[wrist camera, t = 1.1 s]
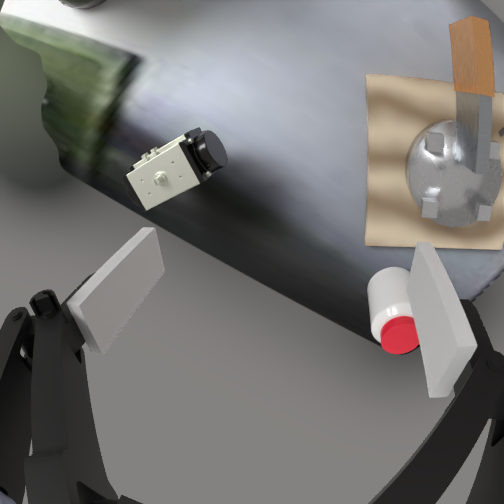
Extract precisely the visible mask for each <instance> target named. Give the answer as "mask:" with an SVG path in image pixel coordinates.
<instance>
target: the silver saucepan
mask: <svg viewBox="0 0 504 504" xmlns="http://www.w3.org/2000/svg"><path fill="white" fill-rule="evenodd" d="M449 32H450V40H451V50H452V62H453V79H454V91H456V119H444V120H439V121H436V122H434V123H431V124H430V125H428V126H426V127H425V128H424V129H423V130H422V131H420V133H419V134H418V135H417V136H416V137H415V139H414V140H413V142H412V144H411V146H410V148H409V151H408V153H407V158H406V164H405V176H406V182H407V186H408V189H409V191H410V193H411V195H412V197H413V199H414V200H415V202H416V203H417V205H418V206H419V208H420V210H419V214H420V215H421V217H426V218H430V219H431V220H432V221H434V222H436V223H438V224H440V225H444V226H449V227H460V226H465V225H468V224H471V223H473V222H475V221H477V220H479V221H490V217H491V211H492V205H493V204H494V202H495V200H496V198H497V196H498V193H499V190H500V187H501V182H502V165H501V160H500V156H499V155H500V143H499V142H497V141H492V140H491V130H492V97H495V89H494V67H493V54H492V44H491V35H490V28H489V21H488V20H484V19H481V18H477V17H474V16H470V17H467V18H465V19H462V20H460V21H457V22H455V23H452V24H450V25H449Z"/></svg>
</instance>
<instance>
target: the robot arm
mask: <svg viewBox="0 0 504 504" xmlns="http://www.w3.org/2000/svg"><path fill="white" fill-rule="evenodd" d="M59 1H60V2H61V3H62V4H64V5H65V6H68V7H72V8H80V9H86V8H91V7H94V6H97V5H99V4H101V3H102V2H104V1H106V0H59ZM164 272H165V269H164V265H163V261H162V257H161V252H160V248H159V243H158V239H157V234H156V229H155V228H147V227H144V228H142V229H141V230H140V231H139V232H138V233H137V234H136V235H135V236H134V237H132V238H131V239H130V240H129V241H128V242H127V243H126V244H125V245H124V246H123V247H122V248H121V249H120V250H119V251H117V252H116V253H115V254H114V255H113V256H112V257H111V258H110V259H109V260H108V261H107V262H106V263H105V264H104V265H103V266H102V267H101V268H100V269H99V270H98V271H97V272H95V273H93V274H92V275H90V276H88V277H87V278H86V279H85V280H84V281H83V282H82V284H81V285H79V286H78V287H77V290H76V289H75V290H74V291H73V292H72V293H71V295H70V296H69V297H68V298H67V299H66V300H65V301H64V302H63V303H62V304H61V305H60V304H59V302H58V299H57V297H56V295H55V293H54V291H52V290H48V289H47V290H43V291H41V292H39V293H37V294H36V295H34V296H33V297H32V298H31V300H30V302H29V303H30V305H31V307H32V309H33V311H34V313H35V316H30V314H29V313H28V310H27V309H26V308H25V307H19V308H16V309H14V310H12V311H11V312H10V313H9V314H8V316H7V317H6V319H5V321H4V323H3V325H2V328H1V329H0V504H22V502H23V497H24V493H25V485H26V490H27V497H28V504H142V503H139V502H137V501H135V500H132V499H130V498H128V497H126V496H123V495H121V497H120V499H118V496H117V494H116V492H115V491H114V489H113V488H112V486H111V485H110V483H109V481H108V479H107V476H106V472H105V468H104V465H103V461H102V456H101V452H100V448H99V443H98V439H97V435H96V429H95V424H94V419H93V413H92V408H91V402H90V395H89V389H88V381H87V373H86V364H85V355H84V351H83V348H82V345H83V344H84V343H85V342H86V344H87V346H88V347H89V349H90V351H93V352H95V353H99V354H102V355H103V354H104V353H105V351H106V350H107V348H108V347H109V346H110V344H111V343H112V342H113V340H114V339H115V338H116V336H117V335H118V333H119V332H120V330H121V329H122V328H123V326H124V325H125V324H126V322H127V321H128V320H129V318H130V317H131V316H132V314H133V313H134V311H135V310H136V309H137V307H138V306H139V305H140V304H141V302H142V301H143V300H144V298H145V297H146V295H147V294H148V293H149V292H150V290H151V289H152V288H153V286H154V285H155V284H156V282H157V281H158V280H159V278H160V277H161V276H162V275H163V273H164ZM406 291H407V294H408V298H409V302H410V306H411V309H412V313H413V317H414V321H415V326H416V330H417V334H418V339H419V343H420V348H421V353H422V358H423V362H424V367H425V373H426V379H427V385H428V391H429V397H431V398H432V397H447V396H448V395H449V393H450V392H451V390H452V389H453V387H454V392H455V397H454V399H453V400H452V402H451V403H450V404H449V406H448V407H447V409H446V410H445V412H444V414H443V415H442V417H441V418H440V420H439V421H438V422H437V424H436V425H435V427H434V428H433V430H432V431H431V432H430V434H429V435H428V436H427V438H426V439H425V440H424V441H423V443H422V444H421V445H420V447H419V448H418V449H417V450H416V452H415V453H414V454H413V455H412V456H411V458H410V459H409V460H408V461H407V463H406V464H405V465H404V466H403V467H402V468H401V469H400V471H399V472H398V473H397V474H396V475H395V476H394V477H393V478H392V480H391V481H390V482H389V483H388V484H387V485H386V486H385V487H384V488H383V489H382V490H381V491H380V492H379V493H378V494H377V495H376V496H375V497H374V498H373V499H372V500H371V501H370V502H369V503H368V504H435V503H436V502H437V501H438V500H439V498H440V497H441V495H442V494H443V493H444V492H445V490H446V489H447V487H448V486H449V484H450V483H451V482H452V480H453V479H454V477H455V476H456V474H457V473H458V471H459V470H460V468H461V467H462V465H463V463H464V462H465V460H466V458H467V457H468V455H469V454H470V452H471V450H472V448H473V447H474V445H475V443H476V442H477V440H478V438H479V436H480V434H481V432H482V431H483V429H484V427H485V425H486V423H487V421H488V419H489V418H490V419H492V422H491V426H490V430H489V434H488V438H487V442H486V446H485V450H484V453H483V456H482V460H481V463H480V466H479V469H478V472H477V475H476V479H475V481H474V484H473V487H472V489H471V492H470V495H469V497H468V500H467V502H466V504H504V356H503V355H502V354H501V353H499V352H497V351H494V349H493V347H492V344H491V342H490V339H489V337H488V334H487V332H486V329H485V327H484V326H483V322H482V320H481V319H480V316H479V313H478V311H477V309H476V308H475V306H474V305H473V304H472V303H471V302H470V301H469V300H464V299H459V298H458V296H457V294H456V291H455V289H454V287H453V285H452V283H451V281H450V278H449V276H448V274H447V272H446V270H445V268H444V266H443V264H442V262H441V260H440V258H439V256H438V254H437V252H436V250H435V248H434V247H433V245H432V243H430V242H417V244H416V249H415V254H414V258H413V263H412V267H411V272H410V276H409V280H408V284H407V288H406ZM21 348H22V349H23V351H24V352H25V355H24V357H22V356H21V354H20V350H21ZM31 438H32V447H33V454H32V455H31V456H29V451H30V444H31Z"/></svg>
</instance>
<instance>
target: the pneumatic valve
mask: <svg viewBox="0 0 504 504" xmlns="http://www.w3.org/2000/svg"><path fill="white" fill-rule="evenodd" d="M156 150H157V151H156ZM150 151H151V153H152V154H150V155H149V156H148V153H146V154H144V155H143V156H142V158H144V159H142V160H141V161H139V162H138V163H136V164H135V165H133V166H131V167H130V170H131V171H132V172H130V173H129V174H127V175H126V176H124V177H123V179H124V181H125V183H126V191H127V194H128V196H129V198H130V199H131V201H132V202H133V203H135V204H136V205H138V206H139V207H140V209H141V210H142V212H145V211H147V210H148V209H150V208H152V207H154V206H156V205H158V204H160V203H162V202H164V201H166V200H168V199H170V198H172V197H174V196H176V195H178V194H180V193H182V192H184V191H186V190H188V189H190V188H192V187H194V186H196V185H198V184H200V183H202V182H204V181H206V180H207V179H208V178H209V177H211V176H212V175H213V174H214V173H215V172H217V171H218V170H219V169H221V168H223V167H225V166H226V164H227V155H226V151H225V149H224V146H223V144H222V142H221V141H220V139H219V138H218V137H217V136H216V134H214V133H213V132H212V131H209V130H207V131H203V132H202V131H201V129H200V128H196V129H194V130H191V131H189V132H187V133H185V134H183V135H182V136H180V137H178V138H176V139H175V140H173V141H171V142H170V143H168V144H166V145H165V146H163V147H161V148H160V149H157V147H155V148H154V149H152V150H150Z"/></svg>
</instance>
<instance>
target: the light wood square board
mask: <svg viewBox="0 0 504 504" xmlns="http://www.w3.org/2000/svg"><path fill="white" fill-rule="evenodd" d="M365 81H366V99H367V127H368V178H367V207H366V225H365V240H364V241H365V246H397V247H416V244H417V242H430V243H432V245H433V247H434V248H463V249H492V250H501V249H502V246H503V242H504V94H502V93H498V92H495V97H492V130H491V140H492V141H497V142H499V143H500V155H499V156H500V160H501V165H502V182H501V187H500V190H499V193H498V196H497V198H496V200H495V202H494V204H493V205H492V211H491V217H490V221H479V220H477V221H475V222H473V223H471V224H468V225H465V226H460V227H449V226H444V225H440V224H438V223H436V222H434V221H432V220H431V219H430V218H426V217H421V215H420V214H419V210H420V208H419V206H418V205H417V203H416V202H415V200H414V199H413V197H412V195H411V193H410V191H409V189H408V186H407V182H406V176H405V164H406V158H407V153H408V151H409V148H410V146H411V144H412V142H413V140H414V139H415V137H416V136H417V135H418V134H419V133H420V131H422V130H423V129H424V128H425V127H426V126H428V125H430V124H431V123H434V122H436V121H439V120H444V119H456V91H454V83H449V82H443V81H436V80H429V79H421V78H412V77H402V76H390V75H375V74H365Z"/></svg>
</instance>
